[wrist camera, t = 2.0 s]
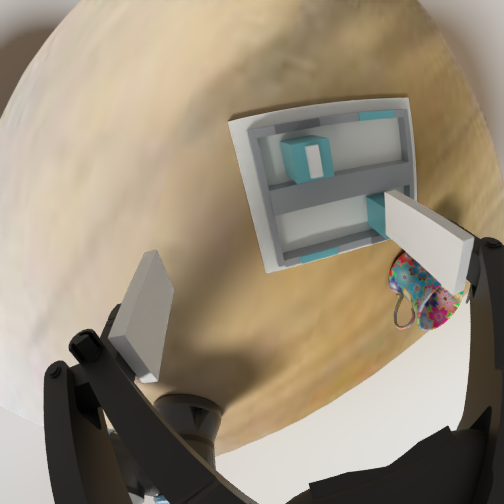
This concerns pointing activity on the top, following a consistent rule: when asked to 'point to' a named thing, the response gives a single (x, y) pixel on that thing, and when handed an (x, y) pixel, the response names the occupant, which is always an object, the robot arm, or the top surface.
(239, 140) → the switch board
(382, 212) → the tab
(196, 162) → the top surface
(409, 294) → the mug
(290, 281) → the top surface
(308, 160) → the tab
